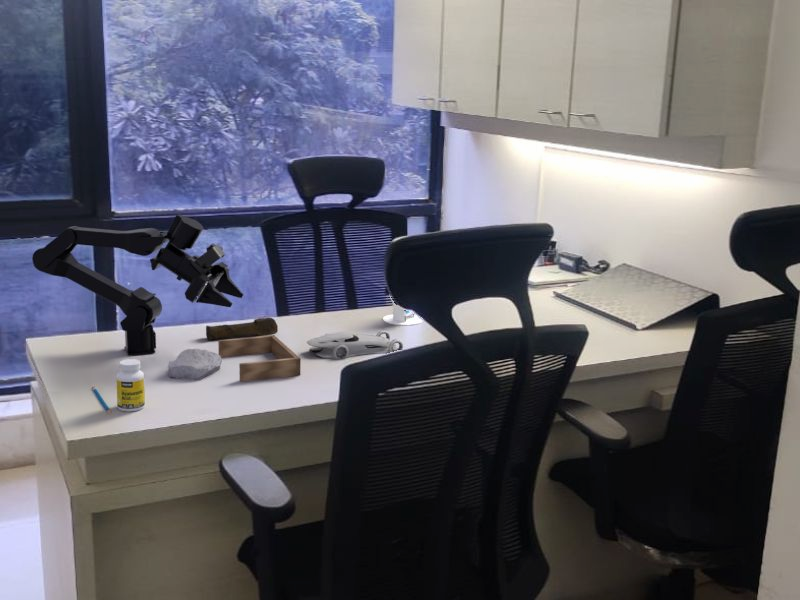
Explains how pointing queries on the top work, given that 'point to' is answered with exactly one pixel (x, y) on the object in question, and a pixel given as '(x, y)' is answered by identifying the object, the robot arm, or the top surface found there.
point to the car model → (352, 344)
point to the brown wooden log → (243, 329)
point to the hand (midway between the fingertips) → (237, 300)
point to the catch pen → (262, 369)
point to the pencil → (101, 400)
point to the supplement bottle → (130, 386)
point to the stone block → (194, 364)
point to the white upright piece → (401, 317)
